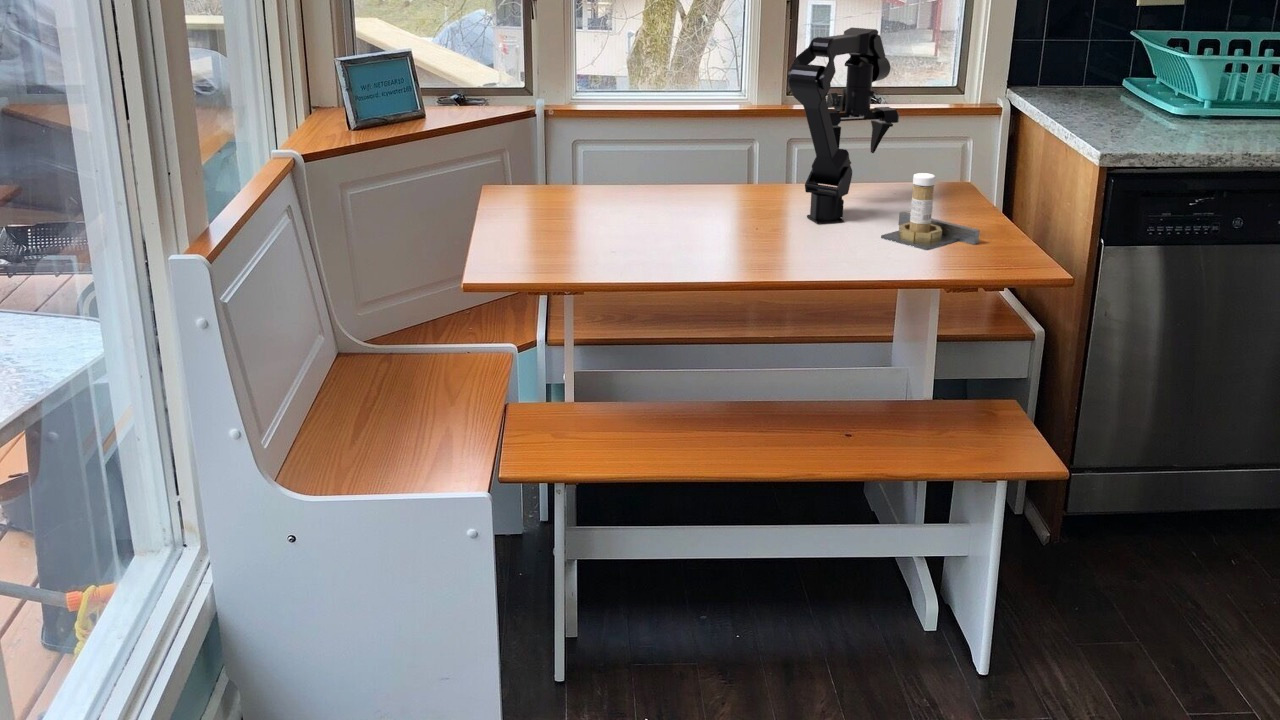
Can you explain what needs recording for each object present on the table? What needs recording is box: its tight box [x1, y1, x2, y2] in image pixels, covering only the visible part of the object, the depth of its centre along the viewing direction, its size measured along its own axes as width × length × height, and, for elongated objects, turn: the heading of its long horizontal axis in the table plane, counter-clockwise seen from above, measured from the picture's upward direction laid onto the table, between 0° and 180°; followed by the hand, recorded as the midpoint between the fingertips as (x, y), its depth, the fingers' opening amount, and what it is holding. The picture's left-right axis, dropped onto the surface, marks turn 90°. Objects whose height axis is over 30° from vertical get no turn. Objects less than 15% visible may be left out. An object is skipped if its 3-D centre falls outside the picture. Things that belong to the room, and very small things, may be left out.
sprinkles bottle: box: [909, 172, 936, 232], centre depth 257 cm, size 5×5×13 cm
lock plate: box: [880, 211, 980, 251], centre depth 260 cm, size 20×12×3 cm, turn 41°
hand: (854, 153), depth 279 cm, fingers open, 9 cm apart
